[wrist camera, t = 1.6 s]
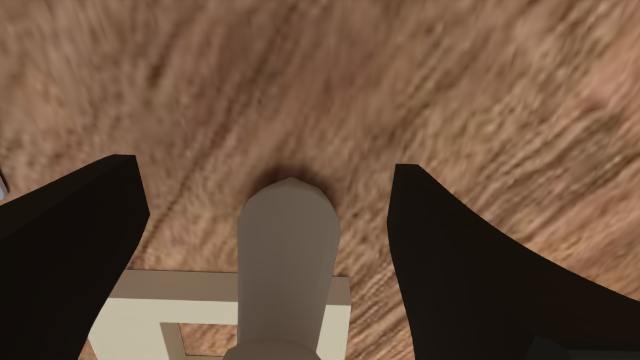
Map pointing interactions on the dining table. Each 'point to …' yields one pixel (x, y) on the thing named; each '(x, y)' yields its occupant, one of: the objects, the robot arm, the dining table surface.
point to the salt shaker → (284, 271)
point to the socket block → (190, 314)
